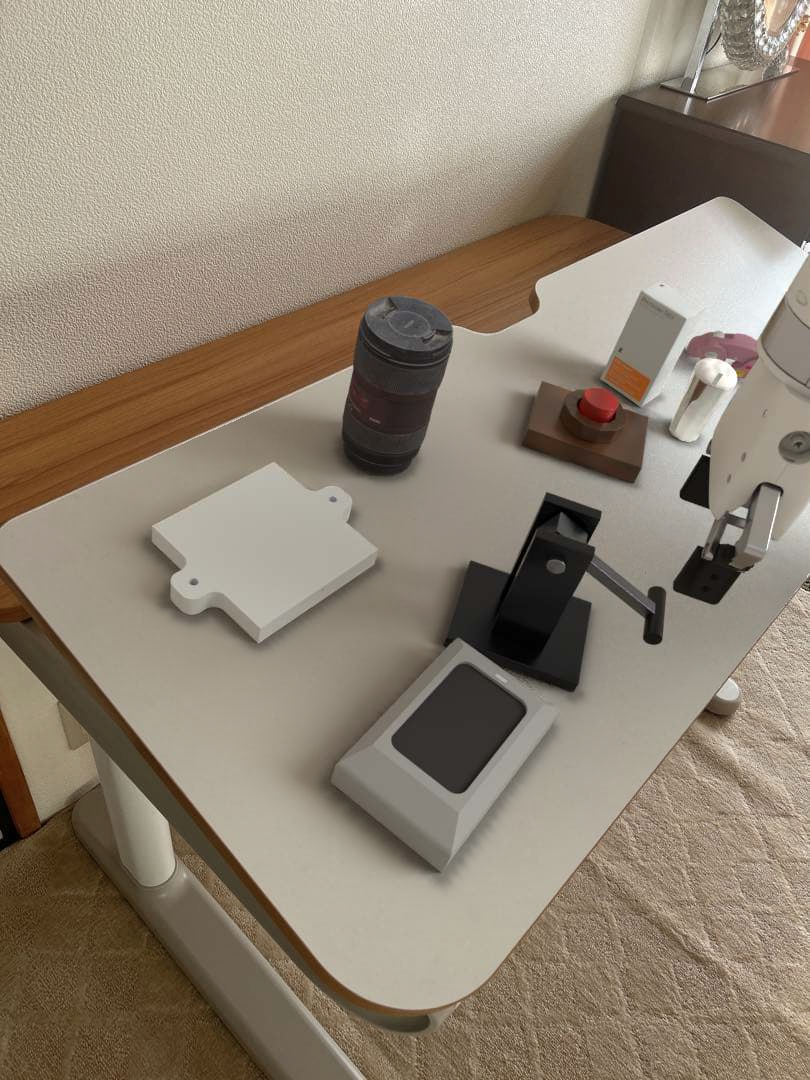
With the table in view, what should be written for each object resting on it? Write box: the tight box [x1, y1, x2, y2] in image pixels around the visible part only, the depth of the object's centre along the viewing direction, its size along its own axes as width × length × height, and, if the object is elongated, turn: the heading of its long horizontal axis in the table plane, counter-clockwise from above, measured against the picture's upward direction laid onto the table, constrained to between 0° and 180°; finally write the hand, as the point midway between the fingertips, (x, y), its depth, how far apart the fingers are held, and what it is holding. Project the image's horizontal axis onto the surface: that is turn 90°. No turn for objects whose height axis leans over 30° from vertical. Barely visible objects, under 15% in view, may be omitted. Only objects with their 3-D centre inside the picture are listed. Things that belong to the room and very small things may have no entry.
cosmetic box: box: [600, 280, 706, 408], centre depth 97 cm, size 6×4×12 cm
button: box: [579, 386, 619, 423], centre depth 90 cm, size 4×4×2 cm
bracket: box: [442, 491, 603, 693], centre depth 69 cm, size 11×9×13 cm
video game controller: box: [686, 330, 759, 379], centre depth 106 cm, size 10×5×7 cm, turn 81°
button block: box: [521, 380, 649, 484], centre depth 92 cm, size 12×9×4 cm
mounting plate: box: [151, 461, 379, 644], centre depth 73 cm, size 18×13×2 cm
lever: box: [539, 512, 667, 646], centre depth 67 cm, size 12×5×2 cm, turn 75°
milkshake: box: [668, 358, 738, 443], centre depth 94 cm, size 4×5×10 cm
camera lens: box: [341, 295, 454, 477], centre depth 79 cm, size 8×8×15 cm
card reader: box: [329, 638, 560, 874], centre depth 63 cm, size 10×4×15 cm
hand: (696, 546), depth 63 cm, fingers open, 9 cm apart
